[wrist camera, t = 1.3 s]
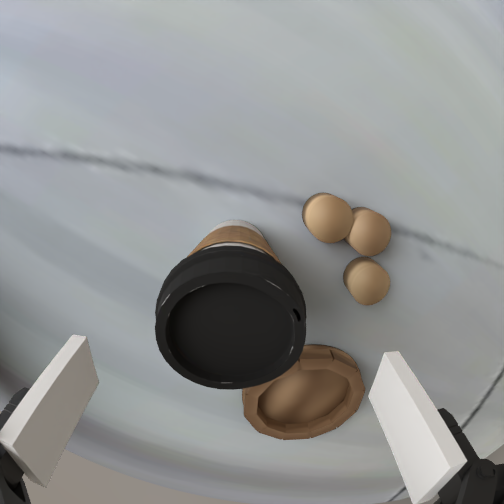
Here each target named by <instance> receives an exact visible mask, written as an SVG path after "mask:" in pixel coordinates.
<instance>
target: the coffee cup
mask: <svg viewBox="0 0 504 504" xmlns="http://www.w3.org/2000/svg"><path fill="white" fill-rule="evenodd" d="M155 314H156V325H155V333H156V341H157V344H158V347H159V350H160V352H161V354H162V355H163V357H164V359H165V360H166V362H167V363H168V364H169V365H170V366H171V367H172V368H173V369H174V370H175V371H176V372H178V373H179V374H180V375H182V376H183V377H185V378H187V379H189V380H191V381H192V382H194V383H197V384H200V385H203V386H206V387H211V388H217V389H243V388H249V387H254V386H258V385H261V384H264V383H267V382H269V381H272V380H274V379H275V378H277V377H279V376H281V375H283V374H284V373H285V372H286V371H288V370H289V369H290V368H291V367H292V366H293V365H294V364H295V363H296V362H297V361H298V359H299V357H300V355H301V353H302V351H303V348H304V344H305V338H306V305H305V301H304V298H303V295H302V292H301V290H300V288H299V286H298V284H297V283H296V281H295V279H294V277H293V276H292V275H291V273H290V272H289V271H288V270H287V269H286V268H285V267H284V266H283V265H282V264H281V262H280V261H279V259H278V258H277V256H276V255H275V253H274V252H273V250H272V249H271V248H270V246H269V245H268V243H267V242H266V240H265V239H264V237H263V235H262V234H261V232H260V231H259V230H258V229H257V228H256V227H254V226H253V225H252V224H250V223H248V222H245V221H241V220H229V221H225V222H222V223H220V224H219V225H217V226H215V227H214V228H213V229H212V230H211V231H210V232H209V234H208V235H207V236H206V237H205V238H204V239H203V240H202V241H201V242H200V243H199V244H198V246H197V247H196V248H195V249H194V250H193V251H192V252H191V253H190V254H189V255H188V256H187V257H186V258H185V259H183V260H182V261H181V262H180V263H179V264H178V265H177V266H175V267H174V268H173V269H172V270H171V272H170V273H169V275H168V276H167V278H166V279H165V281H164V283H163V286H162V288H161V291H160V293H159V296H158V299H157V304H156V311H155Z"/></svg>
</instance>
